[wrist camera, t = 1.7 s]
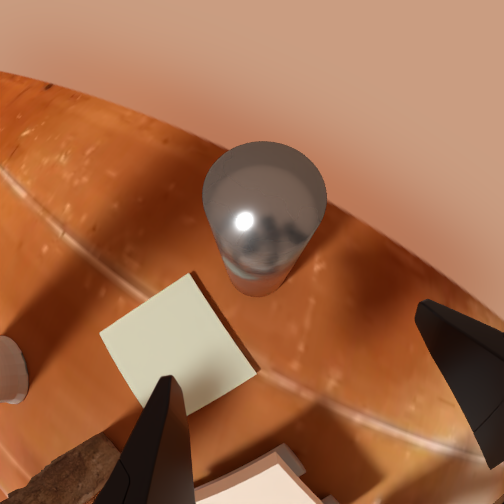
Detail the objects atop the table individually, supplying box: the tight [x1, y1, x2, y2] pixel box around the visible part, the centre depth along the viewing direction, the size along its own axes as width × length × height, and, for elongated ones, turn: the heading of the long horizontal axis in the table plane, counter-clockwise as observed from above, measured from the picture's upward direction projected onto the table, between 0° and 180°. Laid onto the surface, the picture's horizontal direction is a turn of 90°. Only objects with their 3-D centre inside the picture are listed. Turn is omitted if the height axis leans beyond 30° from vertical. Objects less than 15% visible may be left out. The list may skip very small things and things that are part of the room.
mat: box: [99, 273, 257, 416], centre depth 20 cm, size 9×9×1 cm
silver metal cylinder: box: [202, 141, 327, 297], centre depth 16 cm, size 4×4×12 cm
